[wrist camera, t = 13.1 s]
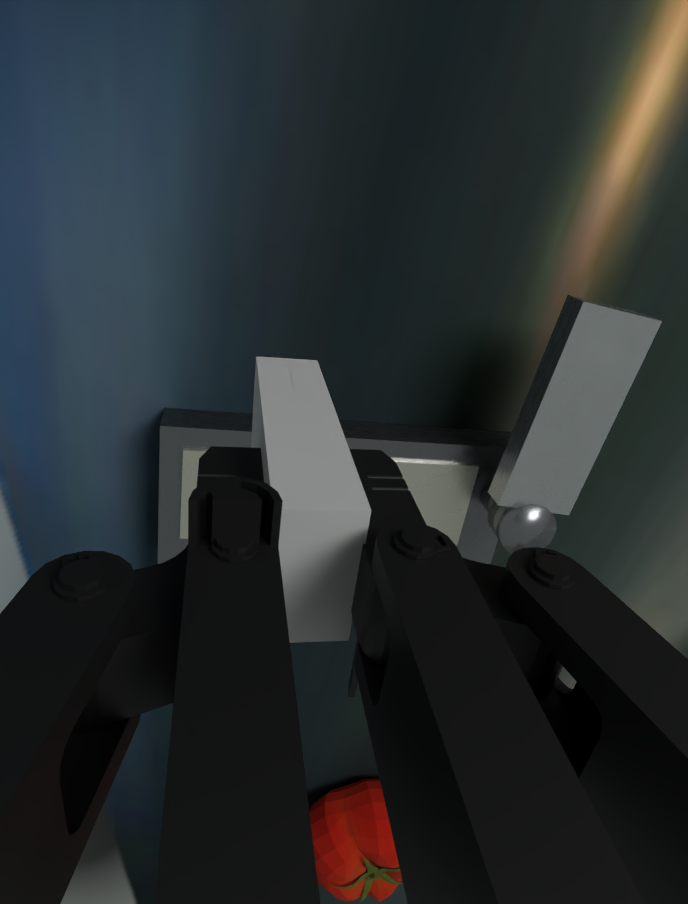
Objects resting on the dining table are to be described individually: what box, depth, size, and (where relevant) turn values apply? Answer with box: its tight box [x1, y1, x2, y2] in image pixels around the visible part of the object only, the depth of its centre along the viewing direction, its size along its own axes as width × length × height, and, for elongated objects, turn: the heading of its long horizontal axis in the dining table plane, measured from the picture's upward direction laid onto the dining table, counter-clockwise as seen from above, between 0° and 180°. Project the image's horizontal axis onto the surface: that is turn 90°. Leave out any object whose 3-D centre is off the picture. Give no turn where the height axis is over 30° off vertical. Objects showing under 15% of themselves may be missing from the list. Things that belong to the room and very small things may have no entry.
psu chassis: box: [158, 408, 511, 564], centre depth 44 cm, size 12×26×5 cm, turn 82°
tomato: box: [309, 778, 403, 902], centre depth 61 cm, size 14×13×9 cm
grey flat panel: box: [488, 295, 662, 554], centre depth 39 cm, size 6×18×2 cm, turn 166°
